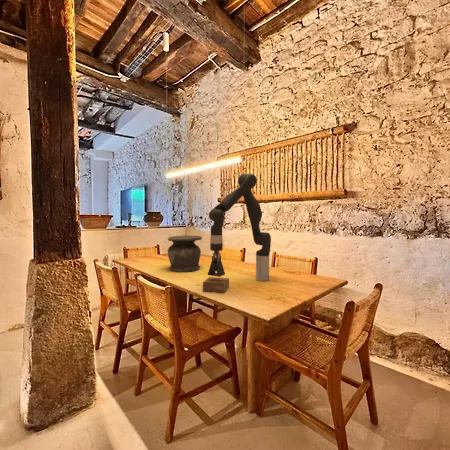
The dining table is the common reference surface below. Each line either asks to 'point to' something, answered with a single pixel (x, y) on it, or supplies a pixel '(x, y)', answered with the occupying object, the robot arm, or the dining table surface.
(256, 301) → the dining table surface
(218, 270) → the phone stand
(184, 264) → the clay pot
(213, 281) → the walnut block
